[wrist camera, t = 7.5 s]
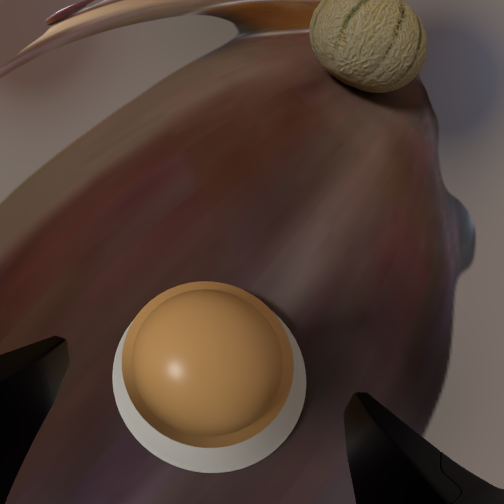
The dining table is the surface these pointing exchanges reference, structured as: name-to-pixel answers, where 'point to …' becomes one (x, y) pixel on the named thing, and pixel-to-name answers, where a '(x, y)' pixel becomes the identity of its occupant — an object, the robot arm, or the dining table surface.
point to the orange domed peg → (207, 364)
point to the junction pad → (223, 456)
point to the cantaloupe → (369, 42)
